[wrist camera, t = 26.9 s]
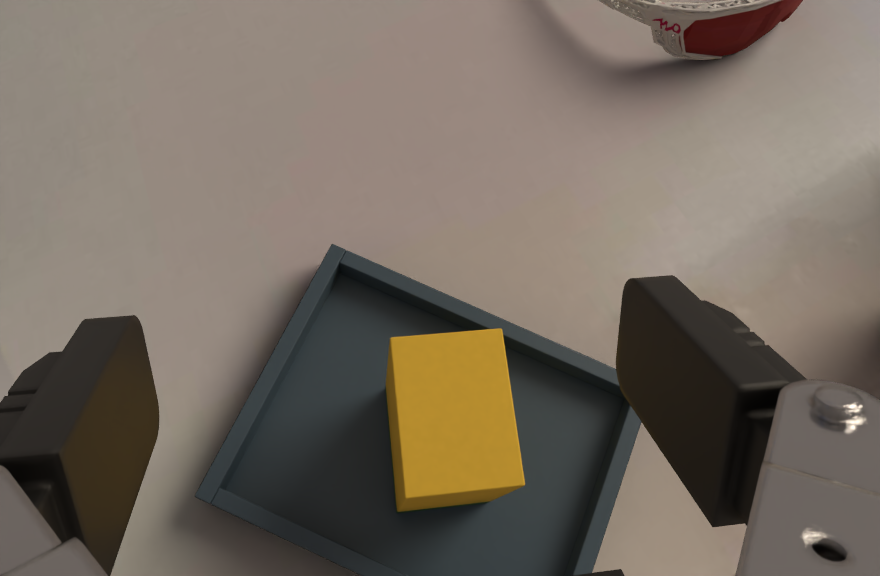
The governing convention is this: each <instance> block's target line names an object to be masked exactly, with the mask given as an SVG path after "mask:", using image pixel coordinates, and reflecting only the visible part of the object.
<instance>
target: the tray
mask: <svg viewBox="0 0 880 576" xmlns="http://www.w3.org/2000/svg"><path fill="white" fill-rule="evenodd" d="M498 328H501V329H502V332H503V338H504V345H505V352H506V359H507V365H508V372H509V379H510V385H511V392H512V399H513V406H514V412H515V419H516V426H517V433H518V439H519V446H520V453H521V460H522V466H523V473H524V480H525V486H523V487H521V488H518V489H516V490H514V491H512V492H510V493H508V494H505V495H503V496H501V497H499V498H497V499H495V500H493V501H490V502H488V503H484V504H475V505H467V506H458V507H449V508H440V509H431V510H423V511H414V512H405V513H396V505H395V494H394V483H393V472H392V460H391V449H390V438H389V427H388V416H387V404H386V393H385V385H386V375H387V364H388V353H389V342H390V338H391V337H403V336H415V335H426V334H438V333H450V332H462V331H474V330H486V329H498ZM640 425H641V420H640V419H639V417H638V416H637V414H636V413H635V411H634V410H633V408H632V407H631V406H630V404H629V403H628V401H627V400H626V398H625V397H624V395H623V393H622V391H621V389H620V386H619V382H618V378H617V372H616V369H615V368H612V367H610V366H608V365H606V364H603V363H601V362H599V361H597V360H594V359H592V358H590V357H588V356H585V355H583V354H581V353H578V352H576V351H574V350H572V349H569V348H567V347H565V346H563V345H560V344H558V343H556V342H554V341H551V340H549V339H547V338H544V337H542V336H540V335H538V334H535V333H533V332H531V331H529V330H526V329H524V328H522V327H520V326H517V325H515V324H513V323H510V322H508V321H506V320H504V319H501V318H499V317H497V316H495V315H492V314H490V313H488V312H486V311H483V310H481V309H479V308H476V307H474V306H472V305H470V304H467V303H465V302H463V301H461V300H458V299H456V298H454V297H452V296H449V295H447V294H445V293H442V292H440V291H438V290H436V289H433V288H431V287H429V286H427V285H424V284H422V283H420V282H418V281H415V280H413V279H411V278H408V277H406V276H404V275H402V274H399V273H397V272H395V271H393V270H390V269H388V268H386V267H384V266H381V265H379V264H377V263H374V262H372V261H370V260H368V259H365V258H363V257H361V256H359V255H356V254H354V253H352V252H350V251H347V250H345V249H343V248H341V247H338V246H336V245H334V244H332V245H331V246H330V248H329V250H328V252H327V254H326V256H325V257H324V259H323V261H322V263H321V265H320V267H319V268H318V270H317V272H316V274H315V276H314V278H313V279H312V281H311V283H310V285H309V287H308V289H307V290H306V292H305V294H304V296H303V298H302V300H301V302H300V303H299V305H298V307H297V309H296V311H295V313H294V314H293V316H292V318H291V320H290V322H289V324H288V325H287V327H286V329H285V331H284V333H283V335H282V336H281V338H280V340H279V342H278V344H277V346H276V347H275V349H274V351H273V353H272V355H271V357H270V358H269V360H268V362H267V364H266V366H265V368H264V369H263V371H262V373H261V375H260V377H259V379H258V380H257V382H256V384H255V386H254V388H253V390H252V391H251V393H250V395H249V397H248V399H247V401H246V403H245V404H244V406H243V408H242V410H241V412H240V414H239V415H238V417H237V419H236V421H235V423H234V425H233V426H232V428H231V430H230V432H229V434H228V436H227V437H226V439H225V441H224V443H223V445H222V447H221V448H220V450H219V452H218V454H217V456H216V458H215V459H214V461H213V463H212V465H211V467H210V469H209V470H208V472H207V474H206V476H205V478H204V480H203V481H202V483H201V485H200V487H199V489H198V491H197V492H196V494H195V497H196V498H198V499H200V500H202V501H205V502H207V503H209V504H211V505H213V506H215V507H217V508H219V509H222V510H224V511H226V512H228V513H230V514H232V515H234V516H236V517H238V518H241V519H243V520H245V521H247V522H249V523H251V524H253V525H255V526H258V527H260V528H262V529H264V530H266V531H268V532H270V533H272V534H275V535H277V536H279V537H281V538H283V539H285V540H287V541H289V542H292V543H294V544H296V545H298V546H300V547H302V548H304V549H306V550H309V551H311V552H313V553H315V554H317V555H319V556H321V557H323V558H326V559H328V560H330V561H332V562H334V563H336V564H338V565H340V566H343V567H345V568H347V569H349V570H351V571H353V572H355V573H357V574H360V575H362V576H572V575H580V574H588V573H592V571H593V568H594V565H595V562H596V559H597V556H598V553H599V550H600V546H601V543H602V540H603V537H604V534H605V531H606V528H607V525H608V522H609V519H610V516H611V513H612V510H613V507H614V504H615V501H616V498H617V495H618V492H619V489H620V486H621V482H622V479H623V476H624V473H625V470H626V467H627V464H628V461H629V458H630V455H631V452H632V449H633V446H634V443H635V440H636V437H637V434H638V431H639V428H640Z"/></svg>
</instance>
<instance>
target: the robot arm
mask: <svg viewBox="0 0 880 576" xmlns="http://www.w3.org/2000/svg"><path fill="white" fill-rule="evenodd" d="M616 372H617V378H618V382H619V386H620V389H621V391H622V393H623V395H624V397H625V398H626V400H627V401H628V403H629V404H630V406H631V407H632V408H633V410H634V411H635V413H636V414H637V416H638V417H639V419H640V420H641V422H642V423H643V425H644V426H645V428H646V429H647V431H648V432H649V434H650V435H651V437H652V438H653V440H654V441H655V443H656V444H657V446H658V447H659V448H660V450H661V451H662V453H663V454H664V456H665V457H666V459H667V460H668V462H669V463H670V465H671V466H672V468H673V469H674V471H675V472H676V474H677V475H678V477H679V478H680V480H681V481H682V483H683V484H684V485H685V487H686V488H687V490H688V491H689V493H690V494H691V496H692V497H693V499H694V500H695V502H696V503H697V505H698V506H699V508H700V509H701V511H702V512H703V514H704V515H705V517H706V518H707V520H708V521H709V523H710V524H711V525H712V527H718V526H727V525H735V524H743V523H745V524H746V525H747V529H746V533H745V537H744V542H743V546H742V550H741V554H740V559H739V563H738V567H737V571H736V575H735V576H880V400H879V399H878V398H876V397H874V396H873V395H871V394H869V393H867V392H865V391H862V390H860V389H858V388H855V387H852V386H849V385H845V384H841V383H837V382H832V381H825V380H807V379H806V378H805V377H804V376H803V375H801V374H800V373H799V372H798V371H797V370H796V369H795V368H794V367H792V366H791V365H790V364H789V363H788V362H787V361H786V360H784V359H783V358H782V357H781V356H780V355H779V354H778V353H777V352H775V351H774V350H773V349H772V348H771V347H770V346H769V345H765V344H764V341H763V340H762V339H761V338H760V337H759V336H757V335H756V334H755V333H754V332H750V328H748V327H747V326H746V325H745V324H744V323H743V322H742V321H740V320H739V319H738V318H737V317H736V316H735V315H734V314H733V313H731V312H729V311H727V310H725V309H722V308H720V307H718V306H716V305H714V304H712V303H710V302H708V301H701V300H700V299H699V298H698V297H697V296H696V295H695V294H694V293H692V292H691V291H690V290H689V289H688V288H687V287H686V286H685V285H684V284H683V283H682V282H681V281H680V280H678V279H677V278H676V277H675V276H672V275H671V276H658V277H644V278H631V279H629V280H628V281H627V282H626V284H625V286H624V290H623V295H622V305H621V315H620V325H619V335H618V345H617V355H616ZM158 430H159V406H158V399H157V394H156V390H155V385H154V380H153V375H152V371H151V366H150V361H149V357H148V352H147V347H146V343H145V338H144V333H143V329H142V326H141V323H140V321H139V319H138V318H137V317H136V316H135V315H133V316H120V317H106V318H93V319H85V320H83V321H82V322H81V324H80V325H79V327H78V328H77V330H76V332H75V333H74V335H73V336H72V338H71V339H70V341H69V342H68V344H67V345H66V347H65V348H64V350H63V351H62V352H51V353H48V354H47V355H45V356H44V357H43V358H41V359H40V360H38V361H37V362H35V363H34V364H33V365H31V366H30V367H28V368H27V369H25V370H24V371H23V372H22V373H21V374H20V376H19V377H18V379H17V380H16V381H15V383H14V384H13V386H12V387H11V388H10V390H9V391H8V396H5V397H4V398H3V400H2V401H1V402H0V576H110V574H111V572H112V569H113V566H114V563H115V560H116V557H117V554H118V551H119V548H120V545H121V542H122V539H123V536H124V533H125V531H126V528H127V525H128V522H129V519H130V516H131V513H132V510H133V507H134V504H135V501H136V498H137V495H138V492H139V490H140V487H141V484H142V481H143V478H144V475H145V472H146V469H147V466H148V463H149V460H150V457H151V454H152V451H153V449H154V446H155V443H156V440H157V436H158ZM572 576H624V574H623V572H622V570H621V569H619V570H611V571H604V572H596V573H588V574H580V575H572Z"/></svg>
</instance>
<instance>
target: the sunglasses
mask: <svg viewBox="0 0 880 576" xmlns="http://www.w3.org/2000/svg"><path fill="white" fill-rule="evenodd" d="M599 1H600V2H602V3H603V4H605V5H607V6H608V7H610V8H612V9H615V10H617V11H619V12H621V13H623V14H625V15H627V16H629V17H631V18H633V19H635V20H638V21H640V22H642V23H644V24H647V25H649V26H651V30H652V35H653V40H654V43H656V44H659V45H661V46H662V47H663V48H664V50H665V51H666V52H667V53H669V54H671V55H673V56H675V57H680V58H685V59H695V60H710V59H720V58H722V57H721V56H724V55H730V54H734V53H736V52H739V51H741V50H743V49H745V48H747V47H748V46H750V45H751V44H753V43H754V42H755V41H757V40H758V39H759V38H761V37H762V36H763V35H765V34H766V33H768V32H769V31H770V30H772V29H773V28H774V27H775V26H776V25H777V24H778V23H779V22H780V21H781V22H783V21H785V20H786V19H787V18H789V17H790V15H791V14H792V13H793V12H794V11H795V10H796V9H797V7H798V6H799V5H800V3H801V2H802V1H803V0H725V1H718V2H711V3H677V2H668V1H660V0H645V1H643V0H599ZM646 1H649V2H646ZM659 1H660V2H659ZM741 1H745V2H742V3H741ZM618 2H619V3H618ZM734 2H735V3H734ZM732 3H734V4H732ZM623 5H624V6H623ZM671 5H672V6H675V7H672V6H671ZM713 5H714V6H713ZM719 5H721V6H719ZM698 6H700V7H698ZM711 6H713V7H711ZM627 7H628V8H629V9H627ZM681 7H682V8H681ZM692 7H693V8H692ZM638 11H639V12H640V13H639V12H638ZM633 15H634V16H633ZM637 17H639V18H637ZM640 18H642V19H640ZM655 29H656V30H655ZM659 33H660V34H659ZM673 34H674V36H673V37H672V35H673ZM673 40H674V41H673ZM672 43H673V44H672ZM672 46H673V47H672Z"/></svg>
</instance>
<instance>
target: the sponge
mask: <svg viewBox="0 0 880 576" xmlns="http://www.w3.org/2000/svg"><path fill="white" fill-rule="evenodd" d="M385 393H386V404H387V416H388V427H389V438H390V449H391V460H392V472H393V483H394V494H395V505H396V513H405V512H414V511H423V510H431V509H440V508H449V507H458V506H467V505H475V504H484V503H488V502H490V501H493V500H495V499H497V498H499V497H501V496H503V495H505V494H508V493H510V492H512V491H514V490H516V489H518V488H521V487H523V486H525V480H524V473H523V466H522V460H521V453H520V446H519V439H518V433H517V426H516V419H515V412H514V406H513V399H512V392H511V385H510V379H509V372H508V365H507V359H506V352H505V345H504V338H503V332H502V329H501V328H498V329H486V330H474V331H462V332H450V333H438V334H426V335H415V336H403V337H391V338H390V342H389V353H388V364H387V375H386V385H385Z"/></svg>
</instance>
